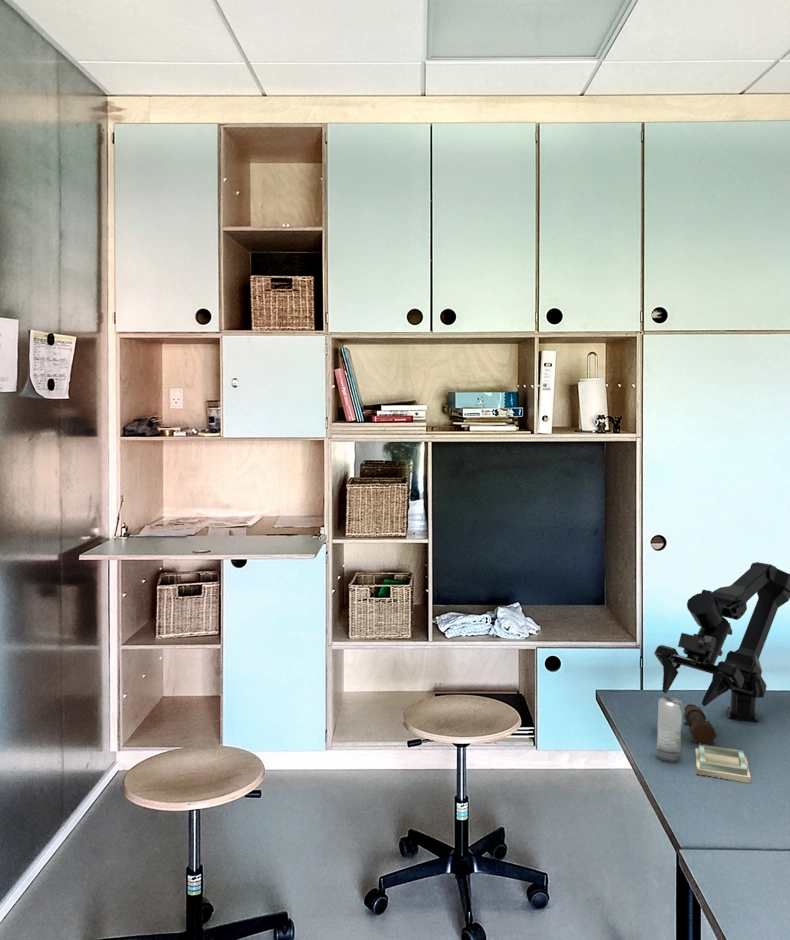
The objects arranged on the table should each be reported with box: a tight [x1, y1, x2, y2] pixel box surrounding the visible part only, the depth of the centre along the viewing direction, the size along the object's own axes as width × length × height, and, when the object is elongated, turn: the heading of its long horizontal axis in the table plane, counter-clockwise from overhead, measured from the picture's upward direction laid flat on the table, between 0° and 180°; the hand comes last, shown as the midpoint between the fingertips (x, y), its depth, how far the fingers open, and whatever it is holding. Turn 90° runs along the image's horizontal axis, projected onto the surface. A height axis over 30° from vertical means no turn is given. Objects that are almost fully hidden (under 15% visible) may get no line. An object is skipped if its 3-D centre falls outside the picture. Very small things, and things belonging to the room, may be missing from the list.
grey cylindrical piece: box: [656, 696, 683, 763], centre depth 161 cm, size 5×5×12 cm
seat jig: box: [694, 744, 752, 784], centre depth 157 cm, size 10×10×2 cm
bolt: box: [683, 703, 718, 745], centre depth 175 cm, size 6×5×15 cm
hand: (683, 698), depth 164 cm, fingers open, 9 cm apart
